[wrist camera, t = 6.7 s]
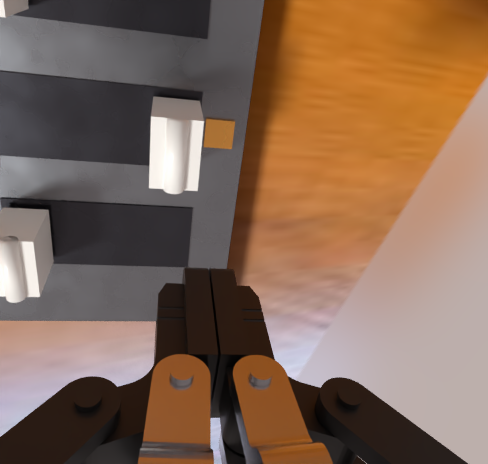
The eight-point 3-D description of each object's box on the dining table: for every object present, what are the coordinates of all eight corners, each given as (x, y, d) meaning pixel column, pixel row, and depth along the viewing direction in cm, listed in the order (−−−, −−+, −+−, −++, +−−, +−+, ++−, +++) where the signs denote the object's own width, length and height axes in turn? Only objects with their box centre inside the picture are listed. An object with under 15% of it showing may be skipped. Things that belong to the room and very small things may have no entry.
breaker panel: (-128, -274, 17) (-164, -302, 15) (281, -183, 20) (292, -197, 18) (-13, 300, 31) (-24, 322, 29) (216, 303, 34) (219, 323, 32)
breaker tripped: (153, 96, 23) (150, 119, 20) (199, 100, 24) (204, 124, 20) (151, 161, 25) (148, 192, 22) (194, 164, 25) (197, 195, 22)
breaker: (3, 207, 25) (-22, 245, 22) (48, 209, 26) (30, 247, 22) (11, 260, 27) (-11, 302, 24) (53, 261, 27) (37, 303, 24)
